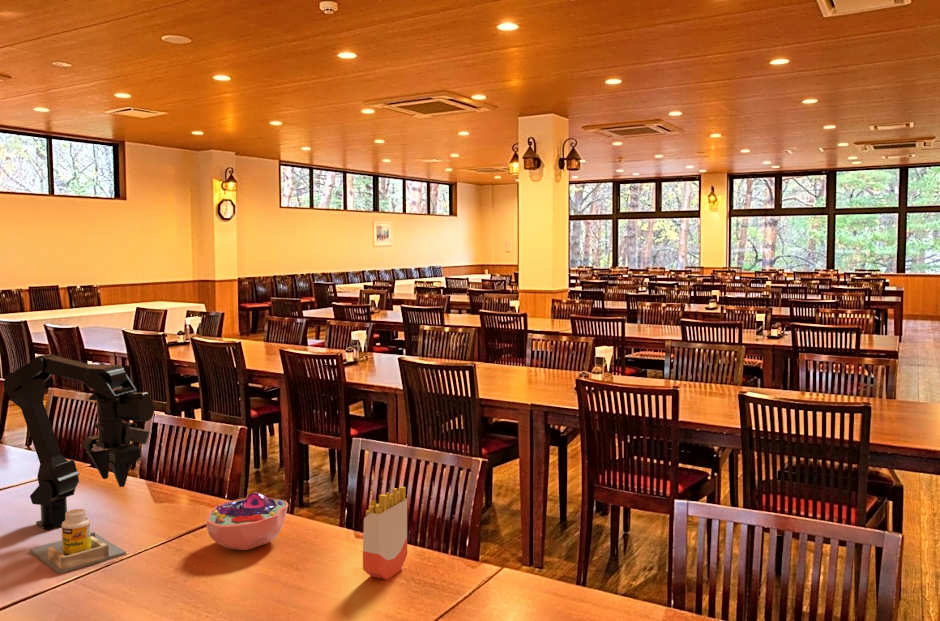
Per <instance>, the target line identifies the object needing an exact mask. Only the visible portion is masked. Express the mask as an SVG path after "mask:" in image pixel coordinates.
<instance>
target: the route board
mask: <svg viewBox="0 0 940 621" xmlns="http://www.w3.org/2000/svg"><path fill="white" fill-rule="evenodd" d="M90 536H93V537H95V538H97V539H98V540H100V541H102V542H103V543H105V544H106V545H108V547H109V557H106V558H103V559H99V560H96V561H93V562H89V563H86V564H82V565H79V566H76V567H72V568H69V569H65V570H62V569H61V568H60V567H58V566H57V565H55V564H54V563H53V562H51V561H50V560H49V559H48V548H49V547H54V548H55V549H56V550H58V551H59V552H61V553H62V554H63V546H62V540H59V541H54V542H51V543H48V544H43V545H40V546H36V547H32V548H29V549H28V550H29V553H30V554H32V555H33V556H34V557H36V558H37V559H38V560H40V561H41V562H43V563H44V564H46V565H47V566H48V567H50V568H51V569H52V570H54V572H56V573H57V574H59V575H60V574H65V573H67V572H71V571H75V570H78V569H82V568H84V567H89V566H91V565H94V564H95V565H96V564H99V563H101V562H105V561H108V560H113V559H114V558H118V557H121V556H125V555H126V554H127V551H126V550H124V549H122V548H121V547H119V546H117V545H116V544H114V543H112V542H111V541H109V540H107V538H106V539H105V538H104V537H102V536H101V535H99V534H97V533H96V532H94V531H92V532H91V531H90Z"/></svg>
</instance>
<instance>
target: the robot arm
mask: <svg viewBox="0 0 940 621" xmlns="http://www.w3.org/2000/svg"><path fill="white" fill-rule="evenodd" d="M52 375H53V376H57V377H61V378H65V379H69V380H73V381H78V382H81V383H83V384H84V385H85V386H86V387H87V388H88V389H90V390H92V391H94V392H93V393H92V394H91V395H90V396H89V397H88V400H89V401H95V402H96V410H97V413H96V414H97V422H96V423H94V428H95V429H97V433H98V434H95V435H91V436H87V437H86V438H85V439H84V440H83V449H84V450H86V454H88V456H89V457H90V459H91V461H92V462H93V465H94V466H95V467H96V469H97V471H98V473H99V475H100V476H101V478H102V480H106V479H108V478H109V474H110V467H111V469H112V470H111V471H112V472H113V475H114V478H115V480H116V483H117V485H118V487H119V488H124V487H125V486H126V483H127V479H128V475H129V472H130V469H131V467H132V465H133V464H134V463H135V462H137V461H138V460H140V459H141V458H142V456H143V454H142V448H140V447H139V446H138V445H135V444H133V442H135V443H140V444H142V445H147V442H148V439H149V437H150V436H149V435H150V431H148V430H146V429H144V428H143V429H142V428H140V427H138V424H137V423H135V422H149V421H151V419H152V418H153V416H154V415H155V414H154V413H155V408H156V407H155V404H154V400H152V398H150V397H149V392H147V391H142V392H138V390H137V388H136V386H135V385H134V384H133V382H132V381H131V379H130V377H129V376H128V374H127V372H126V371H125V368H124V367H123V366H122V365H118V364H90V363H86V362H82V361H78V360H74V359H70V358H65V357H62V356H57V355H56V354H53V353H48V354H41V355H38V356H35V358H33V359H31V361H30V362H28V363H26V364H25V365H23V366H20V367H19V368H17V369H15V371H13V372H8V373H7V375H6V376H5V378H4V380H3V387H4V391H5V393H6V394H7V396H8V398H9V400H10V401H11V402H12V403H14V404H15V406H17V407H18V408H19V409H20V410H21V412H22V416H23V418H24V422H25V424H26V427H27V430H28V433H29V436H30V439H31V442H32V445H33V447H34V450H35V453H36V456H37V458H38V461H39V468H38V472H37V482H38V486H37V487H36V488H35V489H34V491H33V492H32V493H31V494H30V496H29V498H30V501H31V502H32V503H31V504H33V505H39V506H40V520H38V521H35V522H36V523H35V524H36V525H37V526H39V527H40V528H42V529H44V530H45V531H47V530H51V529H54V528H55V529H56V528H59V527H62V523H63V522H64V521H65V513H66V512H68V504H67V502H68V501H67V499H68V498H69V497H71V496H74V495H75V492H76V489H77V486H78V484H79V483H80V478H79V475H80V473H79V471H78V469H77V466H76V462H75V461H74V460H73V459H71V460H68V459H67V458H65V457H64V456H63V455H62V452H61V449H60V446H59V444H58V441H57V437H56V435H55V432H54V428H53V426H52V423H51V421H50V418H49V415H48V412H47V410H46V407H45V406H46V405H45V404H44V398H45V393H46V391H47V390H46V384H45V383H46V382H47V381H48V380H49V378H51V376H52ZM127 421H128V422H127ZM130 421H133V422H130ZM131 442H132V443H131Z"/></svg>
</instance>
